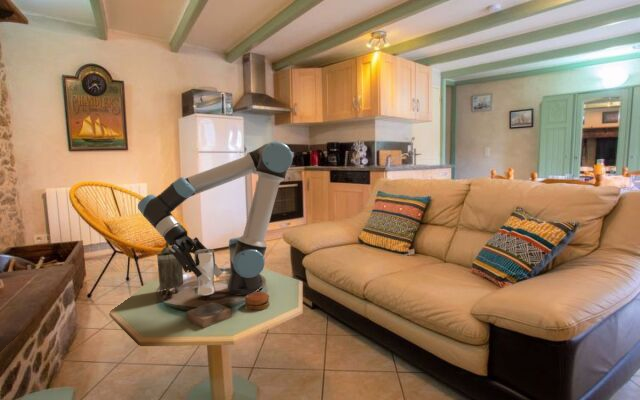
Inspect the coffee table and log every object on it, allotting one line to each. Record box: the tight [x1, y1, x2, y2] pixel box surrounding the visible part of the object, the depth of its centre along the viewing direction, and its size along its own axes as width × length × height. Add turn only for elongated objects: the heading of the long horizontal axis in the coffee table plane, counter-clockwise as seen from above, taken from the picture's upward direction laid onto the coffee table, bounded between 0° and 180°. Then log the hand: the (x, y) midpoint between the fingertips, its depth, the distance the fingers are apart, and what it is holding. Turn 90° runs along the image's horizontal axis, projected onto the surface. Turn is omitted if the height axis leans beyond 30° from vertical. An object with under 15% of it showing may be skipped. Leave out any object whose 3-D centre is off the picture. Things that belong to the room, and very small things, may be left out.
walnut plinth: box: [186, 301, 232, 329], centre depth 129 cm, size 11×11×3 cm
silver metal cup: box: [193, 248, 216, 297], centre depth 127 cm, size 7×7×15 cm
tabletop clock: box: [156, 241, 184, 299], centre depth 153 cm, size 14×9×25 cm, turn 25°
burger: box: [244, 291, 270, 311], centre depth 139 cm, size 10×9×5 cm
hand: (214, 278), depth 126 cm, fingers closed on silver metal cup, 7 cm apart
